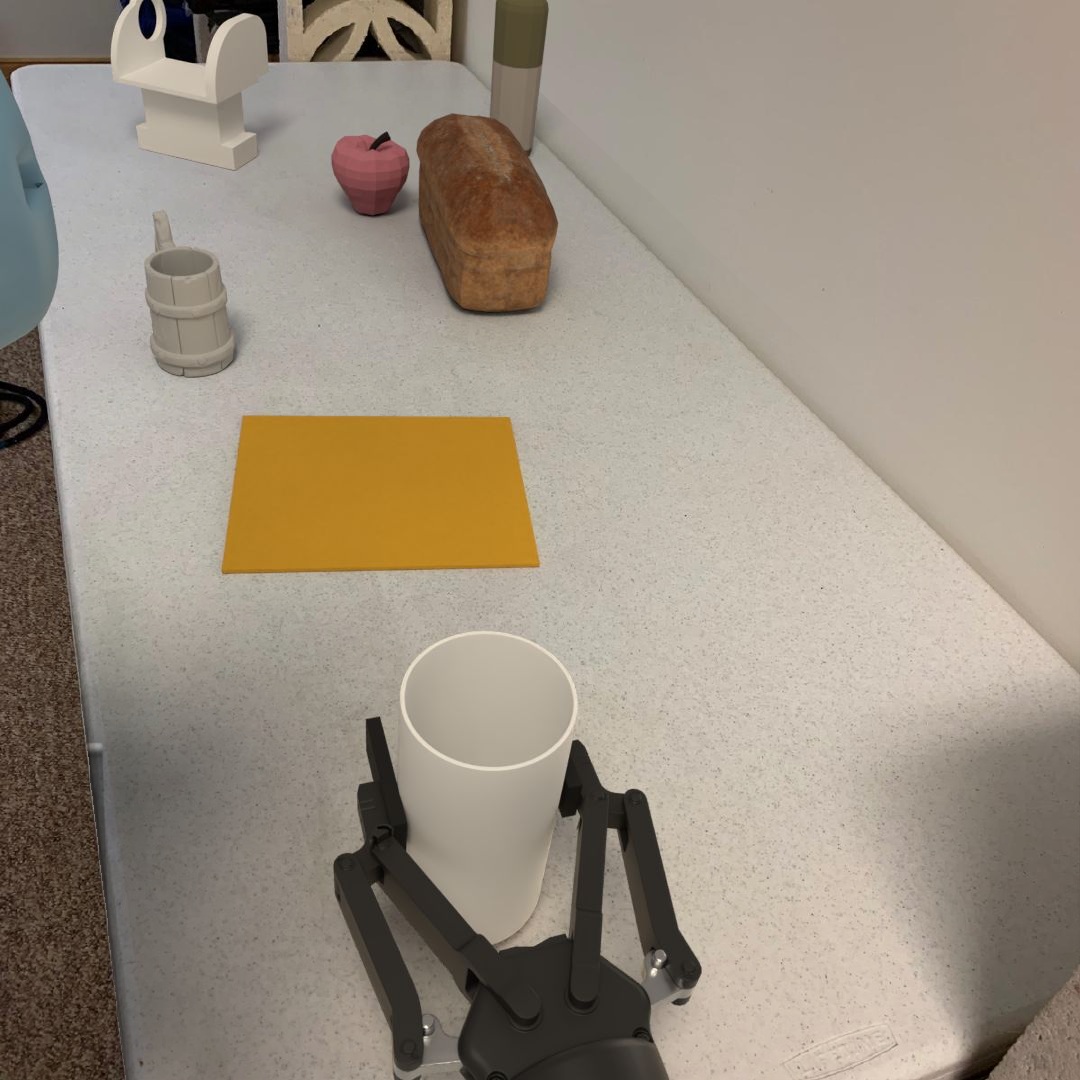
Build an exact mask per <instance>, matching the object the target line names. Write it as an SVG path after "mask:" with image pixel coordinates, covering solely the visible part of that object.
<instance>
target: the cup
mask: <svg viewBox="0 0 1080 1080" xmlns="http://www.w3.org/2000/svg"><path fill="white" fill-rule="evenodd" d="M578 699H579V698H578V692H577V689H576V685H575V684H574V681H573V679H572V677H571V674H570V673H569V671H568V670H567V669H566V667H565V666H564V665H563V664H562V662H561V661H560V660H559V659H558V658H557V657H556V656H555V655H554V654H553V653H552V652H550V651H549V650H547V649H546V648H545V647H543V646H541V645H539V644H538V643H536V642H534V641H532V640H529V639H527V638H524V637H522V636H519V635H515V634H511V633H508V632H503V631H493V630H476V631H468V632H461V633H457V634H454V635H451V636H448V637H445V638H442V639H441V640H439V641H436V642H435V643H433V644H432V645H430V646H428V647H427V648H425V649H424V650H422V651H421V652H420V654H419V655H417V656H416V658H414V660H413V661H412V662H411V663H410V664H409V667H408V668H407V670H406V671H405V674H404V676H403V679H402V682H401V685H400V689H399V697H398V723H397V724H398V726H397V727H398V728H397V770H396V772H397V774H396V775H397V777H396V781H397V785H398V789H399V794H400V797H401V800H402V804H403V808H404V812H405V816H406V820H407V844H406V852H407V853H408V854H409V855H410V856H411V858H412V859H413V860H414V861H415V862H416V863H417V865H418V866H419V867H420V868H421V869H422V870H423V872H424V873H425V874H426V875H427V876H428V877H429V879H430V880H431V881H432V882H433V883H434V884H435V886H436V887H437V888H438V889H439V890H440V891H441V893H442V894H443V895H444V896H445V897H446V898H447V900H448V901H449V902H450V903H451V904H452V905H453V907H454V908H455V909H456V910H457V911H458V912H459V914H460V915H461V916H462V917H463V918H464V919H465V921H466V922H467V923H468V924H469V925H470V926H471V928H472V929H473V930H474V931H475V932H476V933H477V934H482V935H483V936H484V937H485V938H486V939H487V940H488V941H489V942H490V943H491V944H492V946H494V945H496V944H498V943H501V942H504V941H505V940H508V938H510V937H512V936H514V934H516V933H517V932H518V931H519V930H520V929H522V928H523V926H524V925H525V924H526V923H527V922H528V921H529V919H530V918H531V916H532V915H533V913H534V911H535V909H536V908H537V905H538V902H539V899H540V894H541V892H542V891H541V890H542V886H543V881H544V877H545V871H546V867H547V863H548V857H549V853H550V848H551V843H552V838H553V833H554V829H555V826H556V825H555V824H556V819H557V816H558V812H559V809H558V806H559V801H560V797H561V792H562V787H563V783H564V778H565V773H566V768H567V764H568V759H569V754H570V750H571V745H572V741H573V740H574V734H575V730H576V725H577V720H578V711H579V700H578Z"/></svg>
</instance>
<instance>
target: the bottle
mask: <svg viewBox="0 0 1080 1080" xmlns="http://www.w3.org/2000/svg"><path fill="white" fill-rule="evenodd" d="M549 10H550V9H549V1H548V0H495V9H494V11H495V12H494V26H493V27H494V29H493V47H492V67H491V83H490V84H491V86H490V88H491V89H490V107H489V118H494V119H497V120H498V121H499V122H501V123H502V124H504V125H505V126H507V127H508V128H509V129H510V130H511V132H512V133H513V134H514V136H515V137H516V139H517V140H518V141H519V142H520V144H521V146H522V147H523V149H524V151H525V152H526V154H527V155H528V156H529V155H530V154H531V153H532V149H533V146H534V138H535V129H536V120H537V113H538V104H539V96H540V88H541V87H540V86H541V79H542V70H543V63H544V62H543V61H544V54H545V44H546V37H547V27H548V19H549Z"/></svg>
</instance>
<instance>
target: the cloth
mask: <svg viewBox="0 0 1080 1080" xmlns="http://www.w3.org/2000/svg"><path fill="white" fill-rule="evenodd" d="M516 445H517V444H516V439H515V436H514V431H513V426H512V421H511V417H510V416H442V415H441V416H439V415H437V416H435V415H434V416H432V415H430V416H424V415H423V416H421V415H420V416H419V415H418V416H417V415H414V416H413V415H411V416H409V415H262V414H261V415H253V414H252V415H245V414H243V415H242V420H241V427H240V434H239V442H238V449H237V456H236V462H235V463H236V464H235V471H234V476H233V477H234V478H233V484H232V485H233V486H232V492H231V499H230V507H229V514H228V521H227V527H226V528H227V529H226V534H225V535H226V536H225V543H224V549H223V550H224V551H223V556H222V563H221V564H222V565H221V573H222V574H251V573H252V574H254V573H301V572H302V573H303V572H306V573H307V572H308V573H309V572H349V571H350V572H353V571H395V570H396V571H399V570H400V571H402V570H403V571H404V570H445V569H447V570H449V569H450V570H451V569H489V568H490V569H492V568H493V569H495V568H496V569H497V568H499V569H501V568H538V567H541V566H540V565H541V563H540V558H539V557H540V556H539V551H538V547H537V542H536V538H535V532H534V528H533V523H532V519H531V513H530V509H529V504H528V499H527V493H526V489H525V485H524V484H525V483H524V480H523V474H522V469H521V465H520V459H519V454H518V449H517V446H516Z"/></svg>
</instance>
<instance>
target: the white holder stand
mask: <svg viewBox="0 0 1080 1080" xmlns="http://www.w3.org/2000/svg"><path fill="white" fill-rule="evenodd" d="M143 1H144V0H129V3H128V4H127V5H126V6H125V7H124V8H123V10H122V11H121V13H120V14H119V16H118V18H117V20H116V23H115V26H114V28H113V34H112V37H111V43H110V44H111V45H110V66H111V73H112V79H113V82H114V83H118V84H123V85H126V86H127V85H128V86H130V87H131V86H132V87H136V88H140V90H141V96H142V97H141V98H142V102H143V109H144V116H145V117H144V118H145V121H143V122H141V123H139V124H137V125H136V126H135V129H136V135H137V139H138V140H137V142H138V148H139V149H140V150H144V151H149V152H153V153H158V154H162V155H166V156H171V157H176V158H180V159H184V160H188V161H193V162H196V163H201V164H204V165H209V166H213V167H218V168H222V169H227V170H231V171H236V170H239V168H241V167H243V166H244V165H246V164H247V163H249V162H250V161H253V159H255V158H257V157H259V151H258V140H257V133H254V132H250V131H246V128H245V119H244V108H243V107H244V106H243V95H242V92H243V91H244V90H247V89H248V88H250V87H253V86H254V85H256V84H258V83H259V78H260V77H262V76H264V75H266V74H268V73H269V72H270V70H269V69H270V68H269V57H268V55H269V53H268V43H267V42H268V41H267V31H266V26H265V24H264V22H263V20H262V18H261V17H260V16H258V15H256V14H252V13H246V12H243V13H240V14H237V15H236V16H233V17H232V18H228V19H227V20H226V21H225V20H224V21H223V23H222V24H220V26H219V27H218V29H217V30H216V31H215V33H214V34H213V37H212V39H211V42H210V45H209V47H208V52H207V55H206V59H205V60H206V61H205V65H201V64H197V63H192V62H188V61H183V60H178V59H174V58H169V57H166V51H165V43H164V36H165V34H166V28H167V13H166V12H167V11H166V7H165V4H164V1H163V0H151V2H152V4H153V6H154V9H155V15H156V24H155V28H154V31H153V34H152V35H151V36H150V37H149V38H146V37H145V36H144V35H143V33H142V30H141V27H140V22H139V21H140V20H139V11H140V8H141V5H142V3H143Z"/></svg>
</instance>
